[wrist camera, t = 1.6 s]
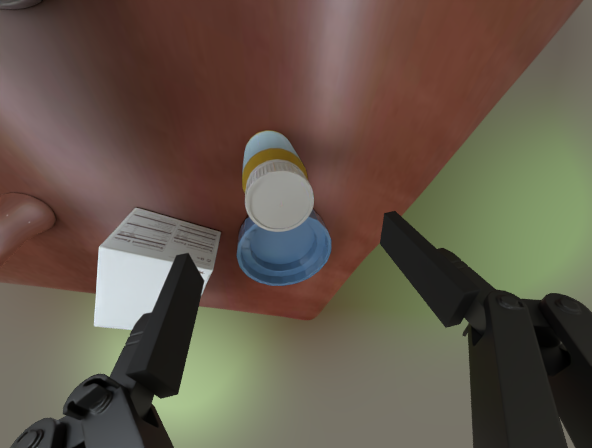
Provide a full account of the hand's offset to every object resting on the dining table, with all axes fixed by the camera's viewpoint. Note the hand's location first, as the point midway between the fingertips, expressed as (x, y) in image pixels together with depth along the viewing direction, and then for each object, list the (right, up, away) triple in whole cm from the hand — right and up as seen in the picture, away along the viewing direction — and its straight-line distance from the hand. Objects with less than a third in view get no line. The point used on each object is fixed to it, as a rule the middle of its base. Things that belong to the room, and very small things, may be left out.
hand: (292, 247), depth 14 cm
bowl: (-2, -1, +26) cm, 26 cm away
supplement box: (-22, -4, +24) cm, 33 cm away
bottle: (-4, +12, +17) cm, 21 cm away
